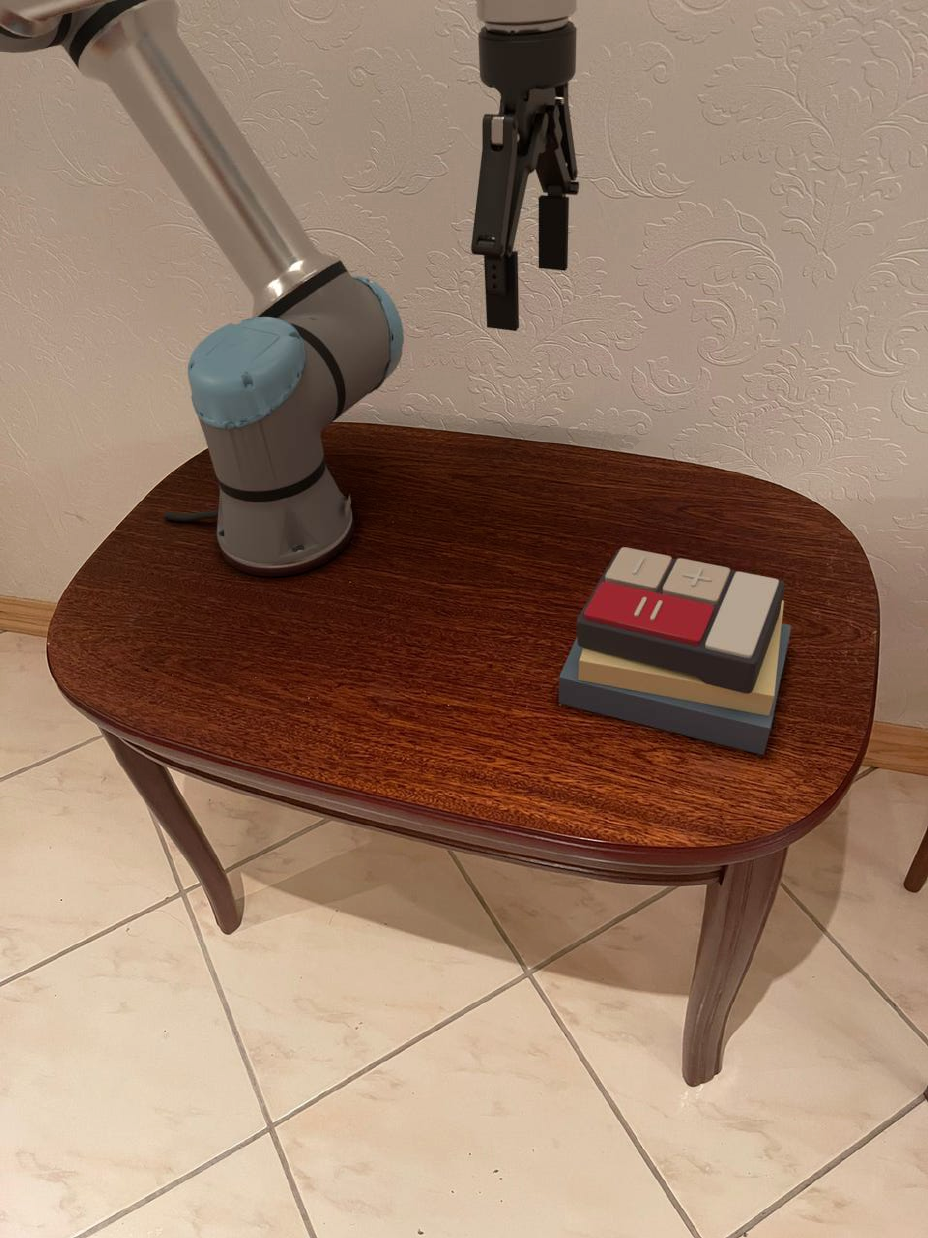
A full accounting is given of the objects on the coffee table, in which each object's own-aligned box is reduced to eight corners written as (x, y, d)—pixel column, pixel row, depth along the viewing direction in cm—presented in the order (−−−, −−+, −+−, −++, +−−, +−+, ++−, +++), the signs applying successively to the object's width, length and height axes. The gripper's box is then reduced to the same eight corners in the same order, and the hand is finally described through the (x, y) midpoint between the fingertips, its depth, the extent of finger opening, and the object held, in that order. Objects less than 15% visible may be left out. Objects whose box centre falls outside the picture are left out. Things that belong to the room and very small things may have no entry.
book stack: (558, 703, 80) (559, 656, 76) (598, 610, 89) (601, 563, 85) (763, 755, 74) (776, 708, 70) (785, 650, 83) (797, 602, 79)
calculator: (618, 540, 81) (787, 573, 75) (618, 576, 84) (781, 611, 78) (574, 614, 74) (757, 657, 68) (575, 651, 77) (751, 696, 71)
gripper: (516, 60, 58) (521, 362, 72) (619, -8, 74) (606, 249, 89) (412, 57, 60) (437, 350, 75) (535, -7, 77) (535, 243, 91)
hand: (529, 296), depth 82 cm, fingers open, 13 cm apart
